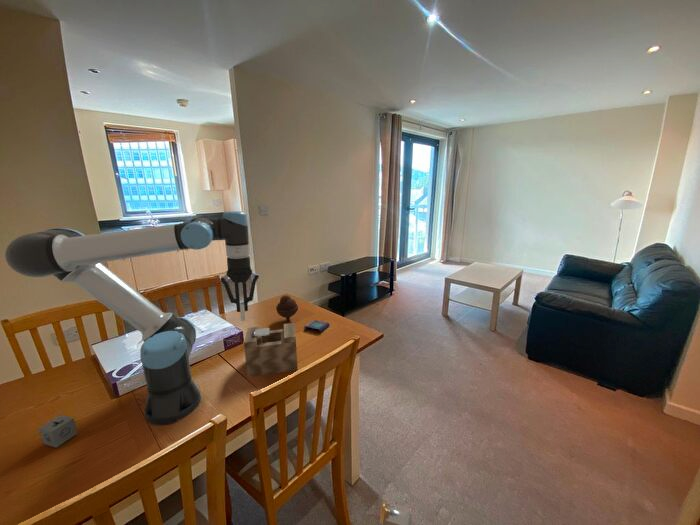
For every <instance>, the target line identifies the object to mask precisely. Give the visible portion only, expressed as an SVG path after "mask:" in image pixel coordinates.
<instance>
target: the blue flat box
mask: <svg viewBox="0 0 700 525" xmlns="http://www.w3.org/2000/svg"><path fill="white" fill-rule="evenodd" d="M329 327H330V323H329V322H328V321H325V322H324V320H322V321H319V320H317V319H315V320H313V321H311V322H309V323H307V324H306V325H304V326H303V329H304V331H306V330H307V329H308V328H311V329H314V330H316V329H317V330H319V333H318V334H321V333H323V332H324V331H325V330H326V329H328V328H329Z"/></svg>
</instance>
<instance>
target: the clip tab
mask: <svg viewBox="0 0 700 525" xmlns="http://www.w3.org/2000/svg"><path fill="white" fill-rule="evenodd" d="M270 329H271V328H270V327H264V328H259V329H254V330H253V335H252V337H258V336H266V335H269V331H271V330H270Z"/></svg>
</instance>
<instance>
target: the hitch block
mask: <svg viewBox="0 0 700 525" xmlns="http://www.w3.org/2000/svg"><path fill="white" fill-rule="evenodd" d="M254 329H260V328H259V326H254V327H247V328H246V332H245V336H244V341H243V345H244V346H243V348H244V357H245V366H246V376H247V378H250V377H257V376H264V375H271V374H278V373H285V372H287V373H288V372H293V371H298V370H299V369H298V368H299V366H298V354H297V337H296V326H295V322H290V323H284V324H283V329H282V328H281V329H271V330H270V331H269V335H266V336H258V337H252V335H253V330H254Z"/></svg>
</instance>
